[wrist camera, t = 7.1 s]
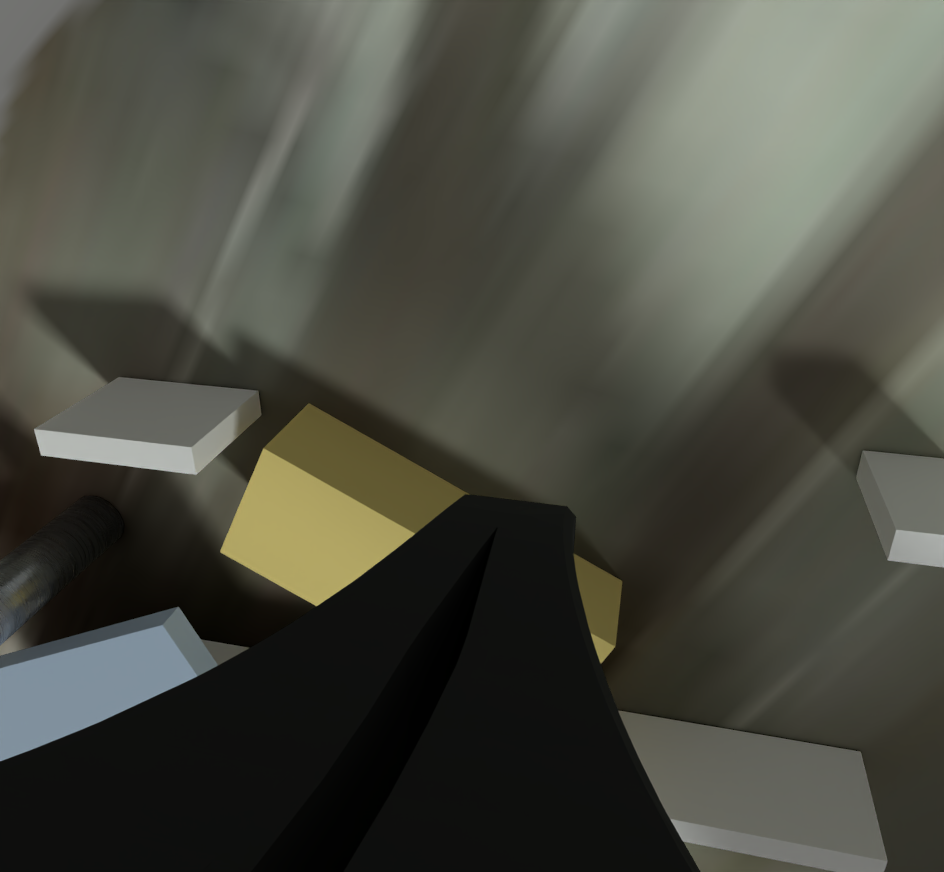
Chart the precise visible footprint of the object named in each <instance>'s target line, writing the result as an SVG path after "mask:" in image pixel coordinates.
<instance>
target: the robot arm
mask: <svg viewBox="0 0 944 872" xmlns="http://www.w3.org/2000/svg"><path fill="white" fill-rule="evenodd" d="M575 523H576V516H575V515H574V514H573V513H572V512H571V510H570V509H569V508H568V507H567V506H558V505H550V504H542V503H534V502H526V501H518V500H510V499H501V498H493V497H485V496H477V495H469V494H465V495H463V496H462V497H461V498H460V499H458V500H457V501H456V502H454V503H453V504H452V505H450V506H449V507H448V508H446V509H445V510H444V511H443V512H441V513H440V514H439V515H438V516H436V517H435V518H434V519H433V520H431V521H430V522H429V523H428V524H427V525H425V526H424V527H423V528H422V529H420V530H419V531H418V532H417V533H415V534H414V535H413V536H412V537H410V538H409V539H408V540H407V541H405V542H404V543H403V544H402V545H400V546H399V547H398V548H397V549H395V550H394V551H393V552H391V553H390V554H389V555H387V556H386V557H385V558H384V559H382V560H381V561H380V562H378V563H377V564H376V565H374V566H373V567H372V568H370V569H369V570H368V571H366V572H365V573H364V574H362V575H361V576H360V577H359V578H357V579H356V580H355V581H353V582H352V583H350V584H349V585H347V586H346V587H344V588H343V589H341V590H340V591H338V592H337V593H335V594H334V595H333V596H331V597H330V598H328V599H327V600H325V601H324V602H322V603H321V604H319V605H318V606H316V607H315V608H313V609H312V610H311V611H309V612H308V613H306V614H305V615H303V616H302V617H300V618H299V619H297V620H296V621H294V622H292V623H291V624H289V625H288V626H286V627H284V628H283V629H281V630H280V631H278V632H276V633H275V634H273V635H271V636H270V637H268V638H266V639H264V640H263V641H261V642H259V643H258V644H256V645H254V646H252V647H251V648H249V649H247V650H245V651H243V652H241V653H240V654H238V655H236V656H234V657H232V658H231V659H229V660H227V661H225V662H223V663H221V664H220V665H218V666H216V667H214V668H212V669H210V670H209V671H207V672H205V673H203V674H201V675H199V676H197V677H195V678H193V679H191V680H189V681H187V682H184V683H182V684H180V685H178V686H176V687H174V688H172V689H169V690H167V691H165V692H163V693H161V694H159V695H157V696H154V697H152V698H150V699H148V700H146V701H144V702H141V703H139V704H137V705H135V706H133V707H131V708H129V709H126V710H124V711H122V712H120V713H118V714H116V715H114V716H111V717H109V718H107V719H105V720H103V721H101V722H98V723H96V724H94V725H91V726H89V727H87V728H84V729H82V730H79V731H77V732H74V733H72V734H69V735H67V736H64V737H62V738H59V739H57V740H54V741H52V742H49V743H47V744H44V745H42V746H39V747H37V748H34V749H32V750H29V751H27V752H24V753H21V754H19V755H16V756H13V757H10V758H8V759H5V760H2V761H0V872H700V870H699V868H698V867H697V865H696V863H695V862H694V860H693V858H692V856H691V855H690V853H689V851H688V849H687V848H686V846H685V844H684V842H683V841H682V839H681V837H680V835H679V834H678V832H677V830H676V828H675V827H674V825H673V823H672V821H671V820H670V818H669V816H668V815H667V813H666V811H665V809H664V807H663V805H662V803H661V801H660V799H659V797H658V795H657V793H656V791H655V789H654V787H653V785H652V783H651V781H650V779H649V777H648V775H647V773H646V771H645V769H644V767H643V765H642V763H641V761H640V759H639V757H638V755H637V753H636V750H635V748H634V746H633V744H632V741H631V739H630V737H629V735H628V732H627V730H626V728H625V726H624V724H623V721H622V719H621V716H620V714H619V712H618V709H617V707H616V704H615V702H614V699H613V697H612V694H611V691H610V689H609V686H608V684H607V681H606V678H605V675H604V672H603V669H602V666H601V664H600V661H599V658H598V655H597V652H596V649H595V646H594V643H593V639H592V636H591V633H590V629H589V626H588V622H587V618H586V614H585V610H584V606H583V602H582V598H581V594H580V590H579V585H578V580H577V575H576V568H575V561H574V554H573V553H574V538H575Z"/></svg>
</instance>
